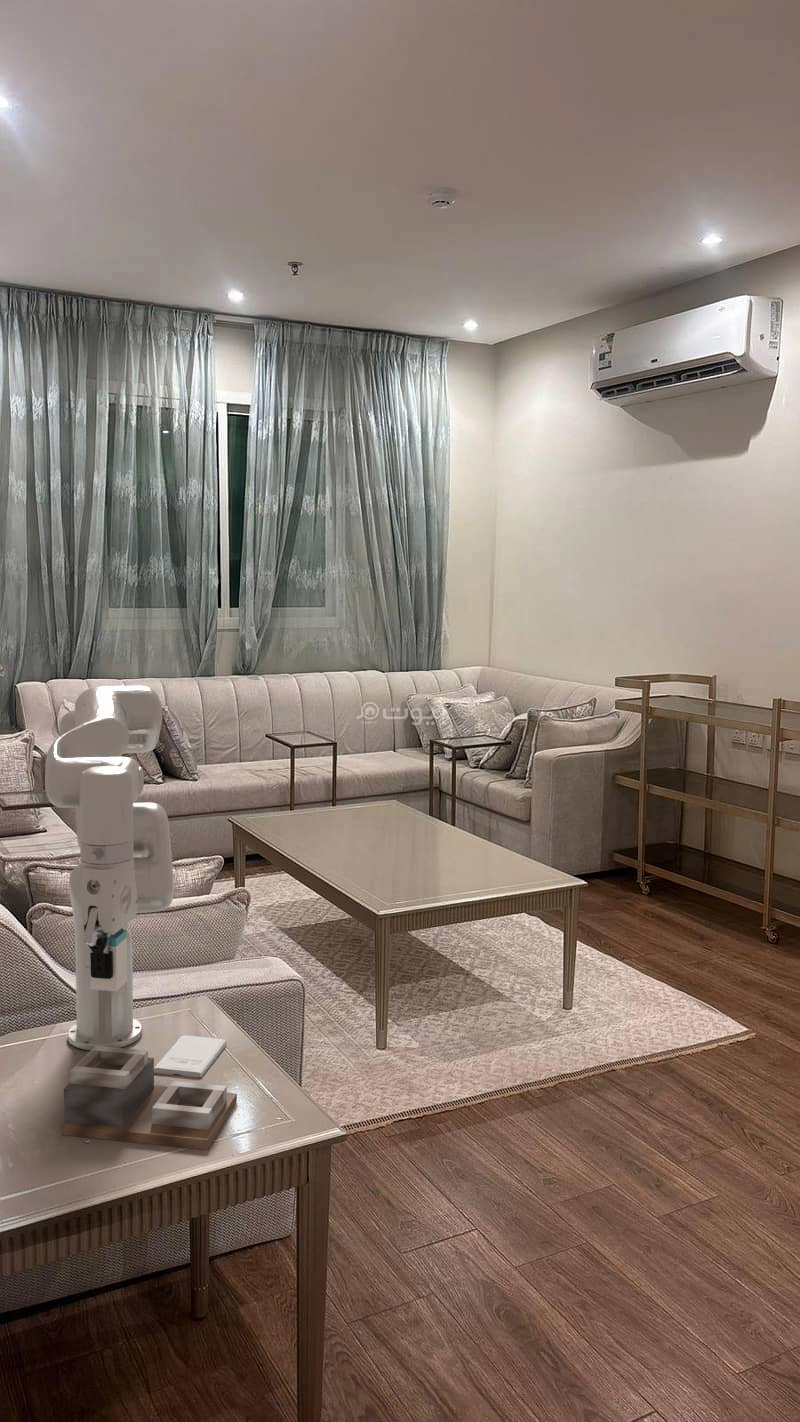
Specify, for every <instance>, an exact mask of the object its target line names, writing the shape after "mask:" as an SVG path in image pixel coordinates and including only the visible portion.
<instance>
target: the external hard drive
mask: <svg viewBox="0 0 800 1422" xmlns="http://www.w3.org/2000/svg"><path fill="white" fill-rule="evenodd" d="M224 1047H225V1048H226V1047H227V1040H226V1039H224V1038H215V1037H205V1036H196V1035H187V1034H186V1035H181V1036H180V1037H179V1038H178V1039H177V1041H176V1042H175V1043H174V1045H172V1047H171V1048H170V1049H169V1050H168V1051H167V1053H166V1054H165V1055H163V1057H162V1058H161V1059H160V1060H159V1062H158V1063H157V1064H156V1065H155V1066H154V1074H162V1075H171V1076H174V1074H175V1075H176V1074H177V1075H176V1076H181V1077H188V1076H190V1078H197V1077H201V1078H203V1076H204V1075H205V1074H204V1073H206V1072H207V1071H208V1070H209V1068H210V1067H211V1066H212V1065H213V1063H214V1062H215V1061H214V1060H217V1058H218V1057H219V1056H220V1055H221V1053H222V1052H223V1050H224V1049H225V1048H224ZM217 1056H218V1057H217ZM213 1061H214V1062H213ZM211 1064H212V1065H211ZM210 1065H211V1066H210ZM207 1069H208V1070H207ZM206 1070H207V1071H206ZM203 1074H204V1075H203ZM202 1075H203V1076H202Z"/></svg>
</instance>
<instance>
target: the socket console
mask: <svg viewBox="0 0 800 1422" xmlns="http://www.w3.org/2000/svg"><path fill="white" fill-rule="evenodd" d="M154 1065H155V1058H154V1057H149V1050H145V1049H135V1048H124V1047H121V1048H115V1047H104V1046H94V1047H93V1048H92V1049H91V1050H88V1052H87V1053H86V1055H84V1056H83V1057H82V1058H81V1060H79V1062H77V1063H76V1065H74V1066H73V1068H71V1069H70V1073H69V1074H70V1081H69V1083H68V1084H67V1085H66V1086H65V1087H64V1088H63V1122H62V1123H61V1124H60V1132H61V1134H60V1135H61V1136H69V1135H71V1137H79V1136H80V1137H82V1138H89V1139H98V1140H110V1141H119V1142H127V1143H128V1142H129V1143H135V1144H139V1143H140V1144H146V1145H147V1144H148V1145H156V1146H165V1147H174V1148H184V1149H185V1148H186V1149H193V1150H194V1149H195V1150H203V1151H208V1150H209V1148H210V1147H211V1145H212V1143H213V1141H214V1140H215V1138H216V1137H217V1135H218V1134H219V1132H220V1130H221V1128H222V1127H223V1125H224V1124H225V1122H226V1121H227V1119H228V1118H227V1117H229V1116H230V1114H231V1113H230V1112H232V1111H233V1109H234V1108H235V1107H236V1105H237V1103H238V1097H237V1095H238V1093H234V1092H227V1091H228V1089H227V1085H222V1084H221V1085H220V1084H210V1083H200V1082H199V1083H197V1082H189V1081H177V1080H173V1081H171V1082H170V1084H169V1086H162V1085H155V1073H154V1068H155V1066H154ZM236 1102H237V1103H236ZM235 1104H236V1105H235ZM62 1134H63V1135H62Z"/></svg>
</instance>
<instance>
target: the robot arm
mask: <svg viewBox="0 0 800 1422" xmlns="http://www.w3.org/2000/svg"><path fill="white" fill-rule="evenodd" d="M162 706H163V705H162V703H161V700H160V698H159V695H158V693H157V692H156V691H155V690H154V689H153V688H152V687H150V686H146V685H101V686H99V685H98V686H93V687H90V688H87V689H86V690H84V691H82V692H81V693H80V694H79V695H78V697H77V699H76V701H75V704H74V709H72V710H69V712H66V713H65V714H63V716H62V717H61V719H60V722H59V730H58V731H59V736H58V737H57V738H56V739H55V740H54V741H53V742H52V744H51V745H50V747H49V749H48V751H47V754H46V759H45V770H44V771H45V773H44V788H45V793H46V796H47V799H48V801H49V802H50V804H52V805H53V806H55V807H57V808H62V809H69V808H71V809H73V808H75V814H76V817H75V818H76V839H77V844H78V848H79V851H80V853H79V855H80V857H79V859H80V864H78V865H76V866H75V867H74V868H73V869H72V870H71V872H70V874H69V878H68V891H69V898H70V904H71V909H72V917H73V923H74V940H75V941H74V942H75V943H74V944H75V946H74V947H75V949H74V950H75V952H74V953H75V994H76V995H75V996H76V997H75V1000H76V1001H75V1003H76V1005H75V1006H74V1010H75V1012H76V1023H75V1024H73V1025H72V1026H71V1027H70V1028H69V1030H68V1031H67V1041H68V1042H69V1044H70V1045H72V1046H73V1047H75V1048H77V1049H80V1050H83V1051H90V1050H91V1049H92V1048H93V1047H94V1046H104V1047H115V1048H124V1047H127V1046H128V1045H131V1044H133V1043H135V1042H136V1041H137V1040H139V1039H140V1037H142V1035H143V1026H142V1023H141V1022H140V1021H139V1020H137V1019H136V1018H134V1003H133V1002H134V997H133V996H134V993H133V992H134V991H133V990H134V987H133V986H134V983H133V981H134V979H133V978H134V977H133V970H134V969H133V939H132V935H131V932H130V930H129V928H128V927H127V926H128V924H129V923H130V922H131V921H133V920H134V919H135V918H136V916H137V915H138V914H141V913H142V914H144V913H145V914H146V913H154V912H161V911H164V910H166V909H167V908H169V907H171V905H172V902H173V899H174V893H175V882H174V868H173V856H172V855H173V854H172V844H171V843H172V842H171V831H170V823H169V822H170V821H169V818H168V814H167V812H166V810H165V808H164V807H163V806H162V805H160V803H156V802H150V801H146V802H145V801H142V802H136V801H137V800H138V799H139V796H140V795H141V794H142V793H143V791H144V783H145V780H144V778H145V777H144V771H143V768H142V766H140V764H139V762H138V761H137V760H136V759H135V758H132V757H129V756H122V755H124V754H143V753H149V752H151V751H154V749H155V748H156V747H157V746H158V743H159V739H160V732H161V728H162V722H163V707H162ZM138 856H139V857H138ZM100 928H102V930H99V929H100ZM120 929H124V930H127V982H126V983H125V984H124V985H123V986H122V987H121V988H120V989H119V990H118V991H106V990H93V989H91V977H93V978H103V979H111V978H112V977H113V952H111V951H110V943H111V935H113V934H115V933H117V932H118V931H119V930H120ZM97 935H98V936H104V942H103V941H102V939H99V938H98V937H97ZM90 958H91V975H90Z"/></svg>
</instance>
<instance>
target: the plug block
mask: <svg viewBox="0 0 800 1422" xmlns="http://www.w3.org/2000/svg"><path fill="white" fill-rule="evenodd" d="M99 930H102V928H100V929H99ZM97 937H98V938H99V939H102V941H103V942H104V936H98V935H97ZM110 951H111V952H113V977H112V978H111V979H103V978H93V977H91V989H93V990H106V991H118V990H119V989H120V988H121V987H122V986H123V985H124V984H125V983H126V982H127V930H124V929H120V930H119V931H118V932H117V933H115V934H113V935H111V943H110ZM90 975H91V958H90Z"/></svg>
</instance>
